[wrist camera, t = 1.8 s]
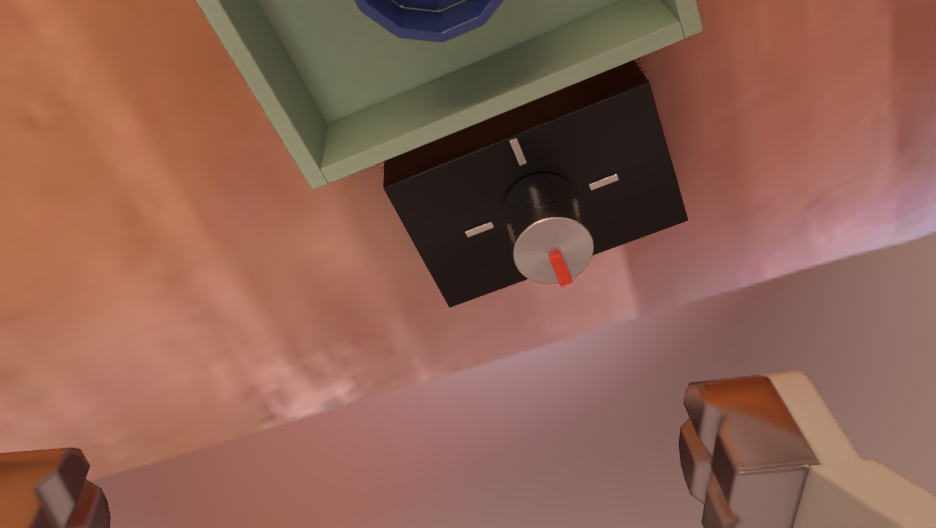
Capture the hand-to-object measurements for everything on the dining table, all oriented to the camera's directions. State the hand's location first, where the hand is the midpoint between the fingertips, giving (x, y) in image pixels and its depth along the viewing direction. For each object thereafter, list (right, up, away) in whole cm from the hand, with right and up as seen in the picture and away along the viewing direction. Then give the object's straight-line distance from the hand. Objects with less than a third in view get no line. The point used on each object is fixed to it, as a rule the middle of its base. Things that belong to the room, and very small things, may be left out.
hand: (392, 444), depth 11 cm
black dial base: (+4, +7, +30) cm, 31 cm away
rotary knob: (+5, +5, +27) cm, 28 cm away
